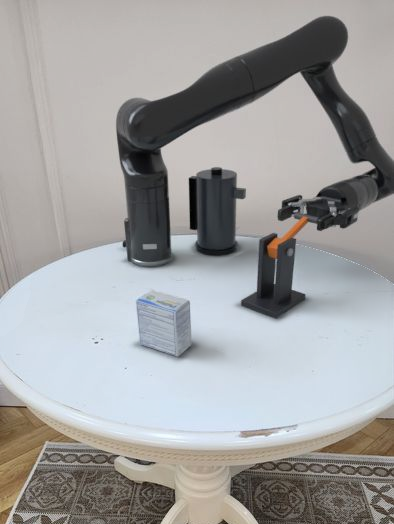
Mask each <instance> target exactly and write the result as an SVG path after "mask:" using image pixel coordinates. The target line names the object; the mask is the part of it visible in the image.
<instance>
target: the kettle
mask: <svg viewBox="0 0 394 524" xmlns="http://www.w3.org/2000/svg"><path fill="white" fill-rule="evenodd" d="M246 196H247V188H244V187H238V173H237V172H236V171H235V170H231V169H225V168H222V167H219V166H214V167H211V168H209V169H204V170H200V171H198V172H196V174H195V175H191V176H190V177H188V207H189V230H192V231H196V241H195V243H194V246H195V247H194V248H195V251H196V252H198V253H199V254H202V255H205V256H213V257H221V256H227V255H230V254H233V253H235V252H237V250H238V241H237V240H236V238H237V237H236V236H237V235H236V233H237V225H236V224H237V200H244V199H246Z"/></svg>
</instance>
